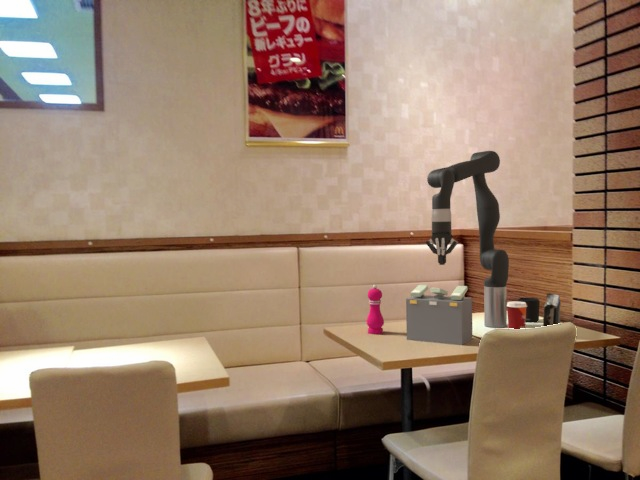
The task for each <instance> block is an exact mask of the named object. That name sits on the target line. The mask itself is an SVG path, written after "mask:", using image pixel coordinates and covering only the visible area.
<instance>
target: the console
mask: <svg viewBox="0 0 640 480" xmlns="http://www.w3.org/2000/svg"><path fill="white" fill-rule="evenodd" d="M405 302H406V303H405V304H406V305H405V307H406V309H405V310H406V311H405V314H406V316H405V317H406V318H405V319H406V340H407V341H417V342H419V341H420V342H427V343H435V344H447V345H456V346H463V345H464V344H467V343H468V342H469V341H471V340H472V339H473V297H465V296H463V297H462V299H461V300H452V299H451V297H450V295H449V296H448V295H437V294H434V295H431V294H430V295H429V294H428V295H427V294H425V293H424V294H423V295H422V296H421V297H413V296H410V297H408V298H406V299H405Z"/></svg>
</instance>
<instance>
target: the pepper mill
mask: <svg viewBox="0 0 640 480" xmlns="http://www.w3.org/2000/svg"><path fill="white" fill-rule="evenodd" d="M382 297H383V292H382V291H381V289H379V288H378V286H377V285H376V284H373V286H372V288H371V289H369V290H368V292H367V298H368V299H369V300H368V304H369V313H368V315H367V318H366V325H367V327H368V328H367V334H371V335H380V334H383V333H384V328H383V326H384V324H385V321H384V316H383V315H382V312H381V307H380V306H381V305H382V300H381V298H382Z"/></svg>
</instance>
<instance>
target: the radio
mask: <svg viewBox="0 0 640 480" xmlns="http://www.w3.org/2000/svg"><path fill="white" fill-rule="evenodd" d="M560 315H561V296H560V295H558V294H554V293H546V301H545V304H543V318H542V319H543V320H542V323H543V324H542V327H543V326H547V325H553V324H558V323H560V324H561V317H560Z"/></svg>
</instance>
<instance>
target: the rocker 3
mask: <svg viewBox="0 0 640 480" xmlns="http://www.w3.org/2000/svg"><path fill="white" fill-rule="evenodd" d="M467 291H468V286H467V285H457V286H456V287H455V288H454V290H453V292H452V293H451V294H450V295H449V297H451V299H452V300H461V299H462V297H465V294H466V293H467Z"/></svg>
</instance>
